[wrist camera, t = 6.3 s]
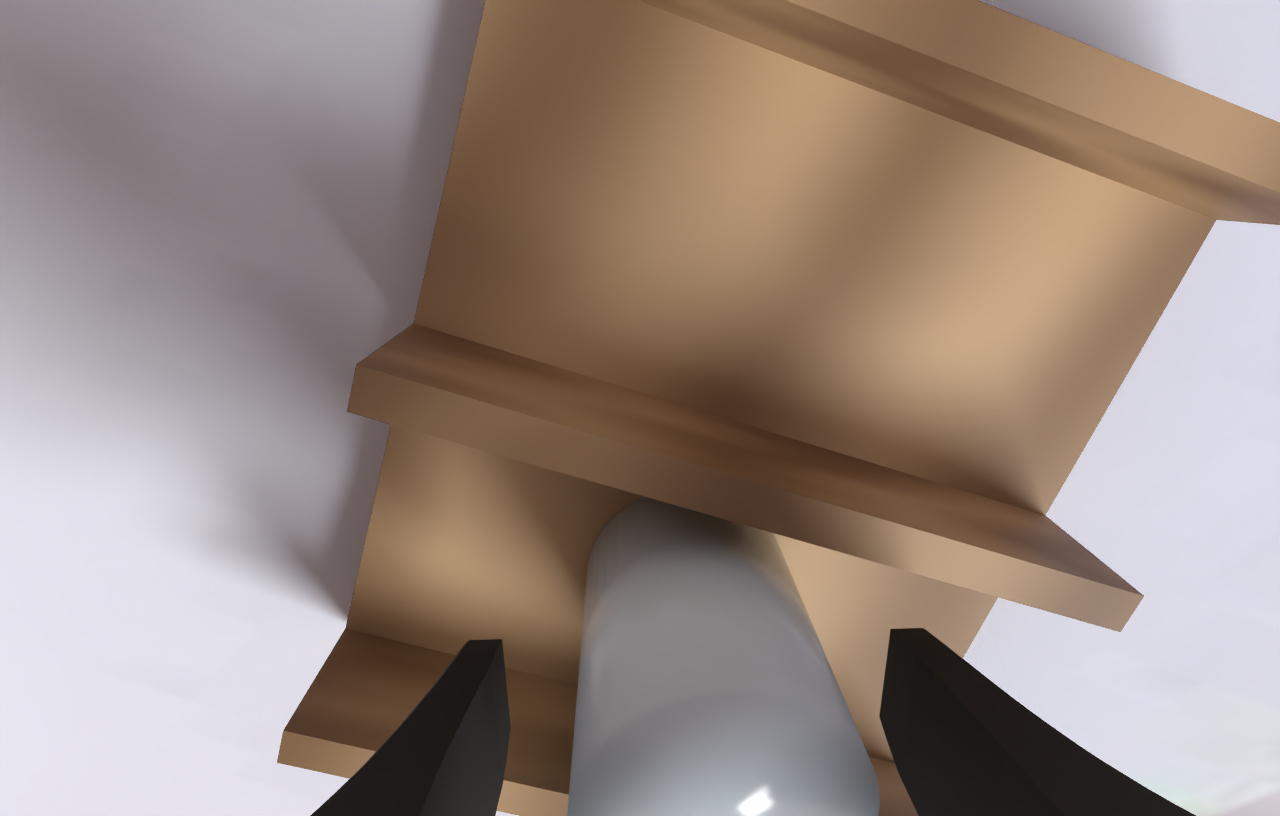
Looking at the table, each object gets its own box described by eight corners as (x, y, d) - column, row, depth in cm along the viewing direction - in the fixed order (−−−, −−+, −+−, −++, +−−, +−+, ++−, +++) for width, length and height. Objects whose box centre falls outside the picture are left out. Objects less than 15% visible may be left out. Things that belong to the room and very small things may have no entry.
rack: (1198, 176, 14) (1418, 179, 10) (873, 756, 18) (939, 907, 15) (518, -86, 12) (470, -206, 8) (355, 628, 17) (276, 762, 13)
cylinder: (780, 477, 14) (884, 677, 9) (784, 648, 16) (875, 911, 10) (575, 497, 14) (547, 708, 9) (598, 665, 16) (586, 937, 10)
